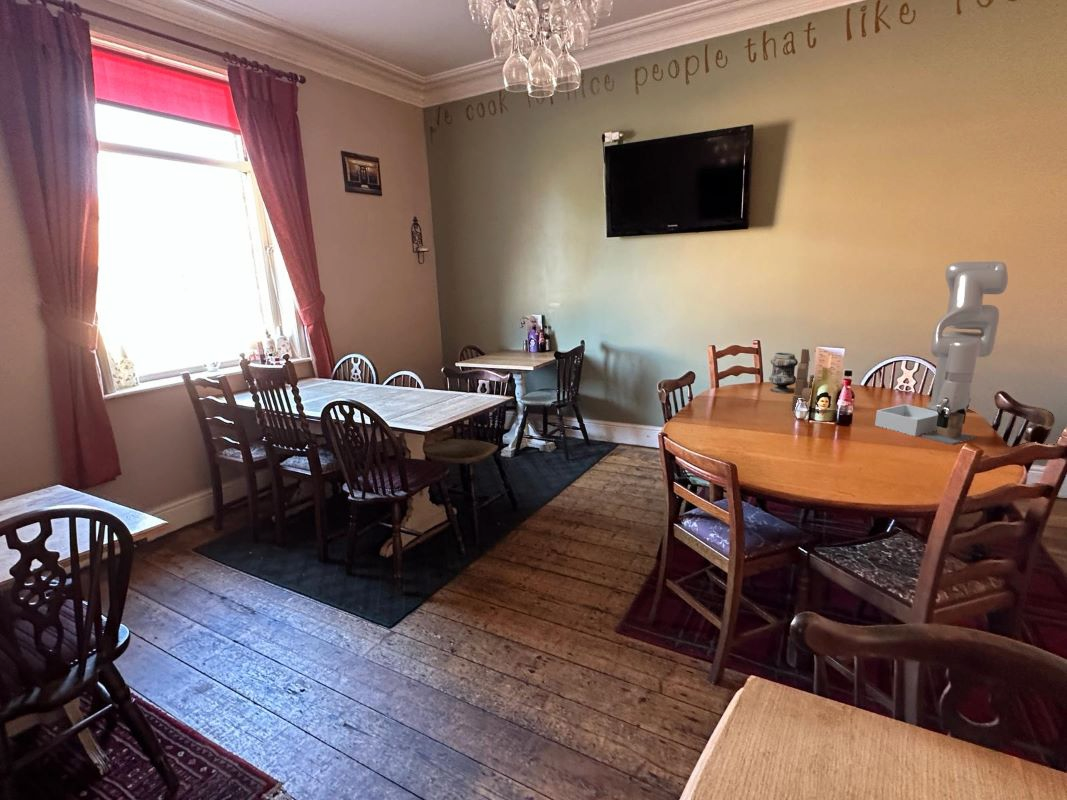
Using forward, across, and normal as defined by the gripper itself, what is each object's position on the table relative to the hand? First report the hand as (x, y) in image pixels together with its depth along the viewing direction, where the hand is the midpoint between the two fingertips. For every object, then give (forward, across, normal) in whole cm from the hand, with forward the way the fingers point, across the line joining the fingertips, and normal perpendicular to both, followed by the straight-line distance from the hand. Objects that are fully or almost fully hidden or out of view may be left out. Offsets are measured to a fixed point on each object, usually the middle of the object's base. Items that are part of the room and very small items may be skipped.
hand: (950, 425), depth 188 cm
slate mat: (+4, 0, 0) cm, 4 cm away
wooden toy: (+5, +9, -52) cm, 53 cm away
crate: (+4, 0, -14) cm, 14 cm away
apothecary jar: (+5, -6, -76) cm, 77 cm away
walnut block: (+4, 0, 0) cm, 4 cm away
